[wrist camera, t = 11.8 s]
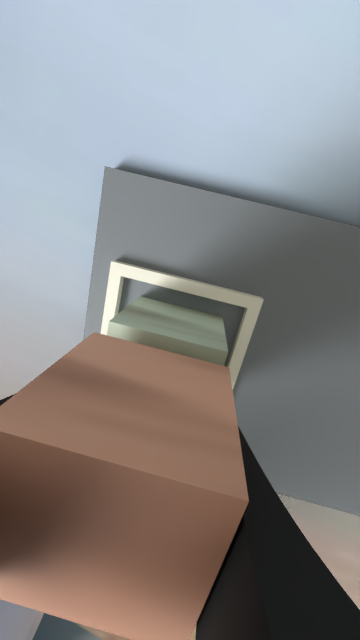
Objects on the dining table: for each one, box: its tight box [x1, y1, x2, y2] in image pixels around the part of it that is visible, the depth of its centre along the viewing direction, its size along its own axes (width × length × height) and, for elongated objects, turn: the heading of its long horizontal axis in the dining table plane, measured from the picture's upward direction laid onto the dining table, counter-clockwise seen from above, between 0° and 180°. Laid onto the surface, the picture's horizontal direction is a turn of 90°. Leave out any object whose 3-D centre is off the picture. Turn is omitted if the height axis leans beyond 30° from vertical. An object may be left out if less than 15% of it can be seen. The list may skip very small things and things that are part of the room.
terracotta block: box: [0, 332, 249, 640], centre depth 7 cm, size 4×4×4 cm
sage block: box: [107, 296, 228, 366], centre depth 12 cm, size 4×4×4 cm
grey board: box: [83, 166, 360, 516], centre depth 14 cm, size 16×20×1 cm
